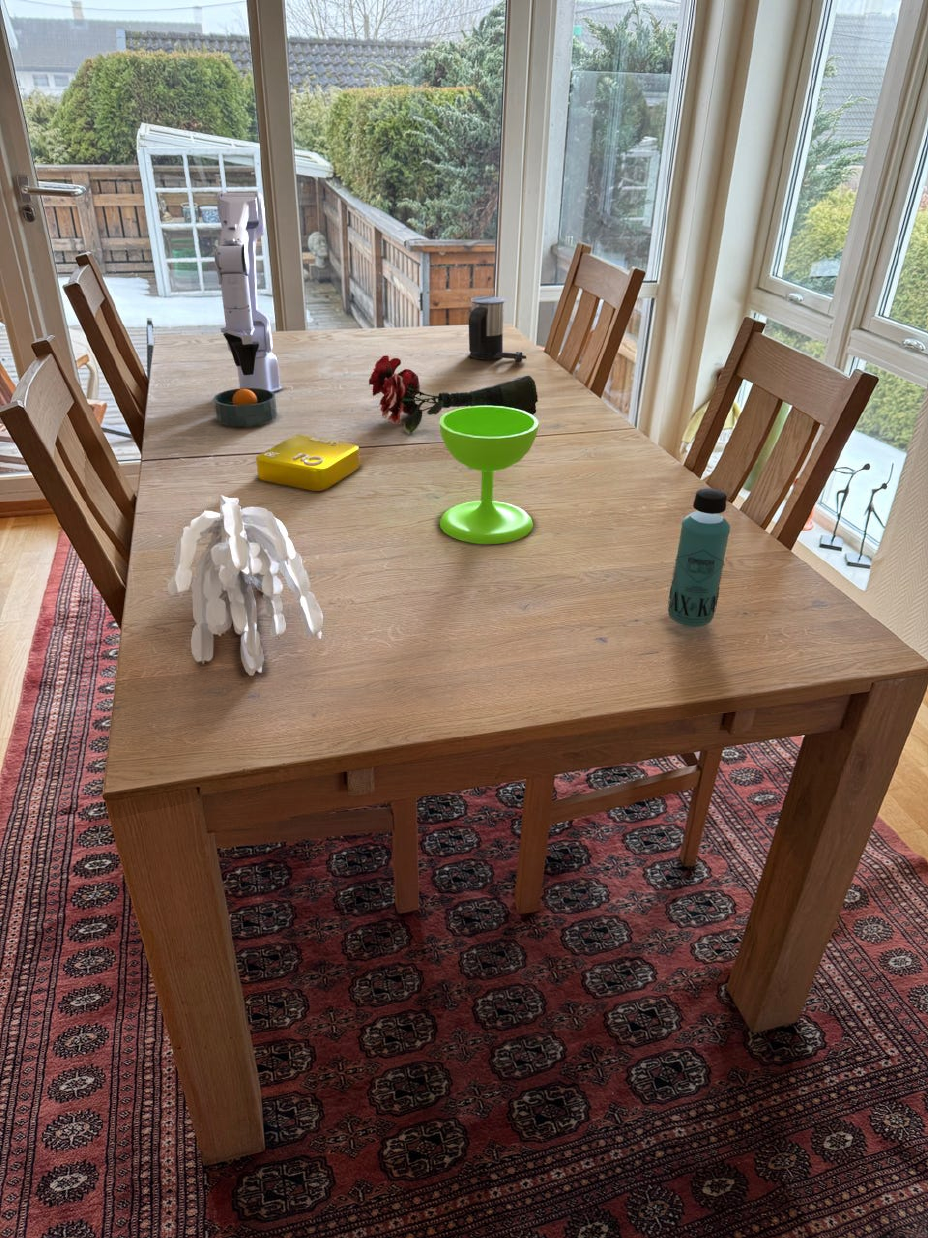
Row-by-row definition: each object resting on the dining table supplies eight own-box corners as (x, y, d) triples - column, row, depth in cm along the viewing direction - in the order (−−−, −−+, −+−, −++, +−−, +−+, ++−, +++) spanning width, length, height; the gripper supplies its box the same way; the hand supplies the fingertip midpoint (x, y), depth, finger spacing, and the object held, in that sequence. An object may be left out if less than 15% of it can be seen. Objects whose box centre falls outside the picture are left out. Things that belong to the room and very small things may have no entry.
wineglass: (466, 551, 147) (467, 444, 137) (423, 514, 159) (422, 413, 149) (551, 532, 153) (557, 428, 144) (503, 498, 165) (507, 400, 156)
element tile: (363, 466, 178) (362, 442, 175) (321, 493, 166) (319, 468, 164) (298, 453, 183) (296, 430, 181) (253, 479, 172) (251, 455, 169)
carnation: (522, 447, 209) (373, 454, 199) (506, 377, 215) (359, 381, 204) (545, 409, 195) (386, 415, 185) (527, 336, 200) (371, 338, 190)
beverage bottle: (659, 613, 130) (678, 482, 120) (705, 612, 131) (727, 481, 121) (672, 638, 125) (693, 502, 115) (720, 636, 125) (744, 501, 115)
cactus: (147, 511, 136) (132, 628, 107) (244, 440, 134) (255, 539, 105) (223, 589, 145) (228, 716, 116) (314, 523, 143) (343, 636, 114)
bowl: (246, 406, 209) (243, 384, 206) (289, 416, 203) (287, 394, 200) (204, 421, 199) (200, 399, 197) (248, 432, 194) (245, 409, 191)
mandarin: (247, 420, 204) (244, 396, 206) (264, 411, 201) (261, 387, 203) (228, 413, 200) (225, 389, 201) (245, 404, 197) (242, 380, 198)
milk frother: (472, 350, 252) (472, 294, 245) (529, 353, 250) (531, 296, 243) (465, 364, 240) (465, 306, 232) (524, 367, 238) (527, 308, 231)
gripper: (211, 300, 198) (219, 363, 205) (225, 314, 187) (233, 380, 194) (244, 297, 200) (251, 360, 207) (259, 311, 189) (266, 377, 196)
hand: (244, 369), depth 201 cm, fingers open, 7 cm apart
